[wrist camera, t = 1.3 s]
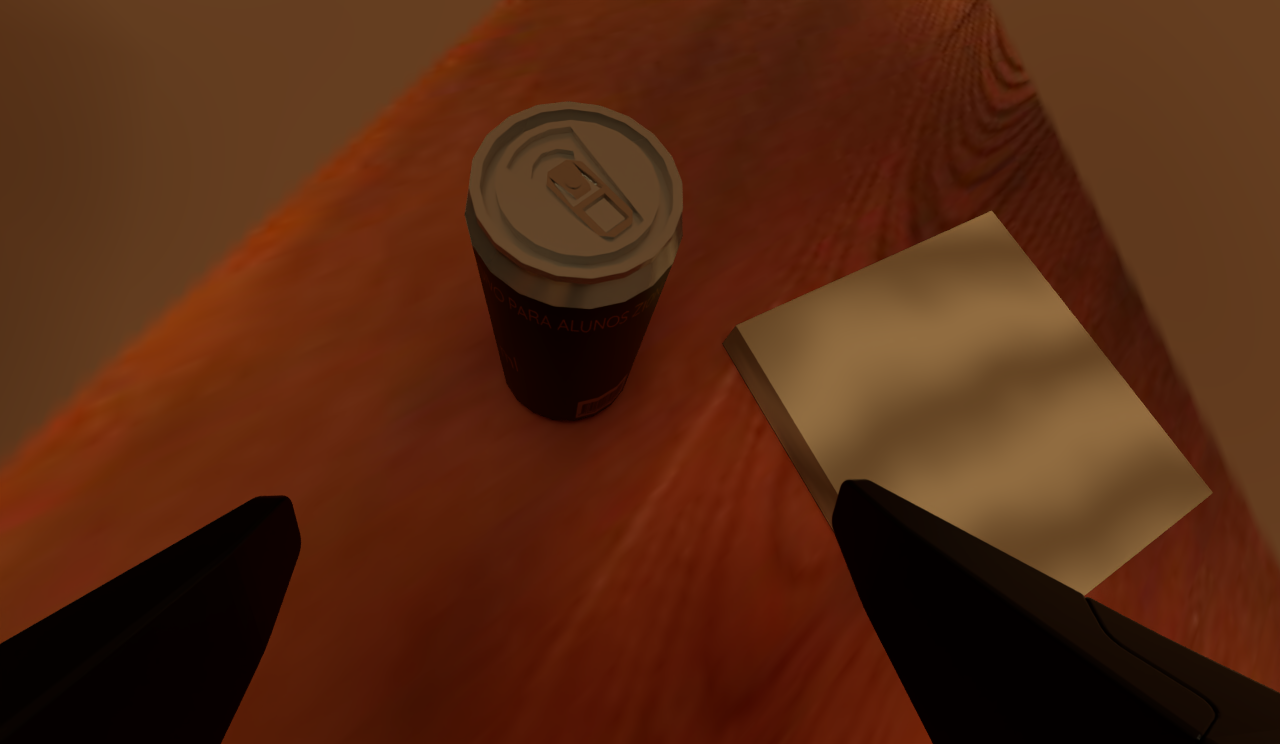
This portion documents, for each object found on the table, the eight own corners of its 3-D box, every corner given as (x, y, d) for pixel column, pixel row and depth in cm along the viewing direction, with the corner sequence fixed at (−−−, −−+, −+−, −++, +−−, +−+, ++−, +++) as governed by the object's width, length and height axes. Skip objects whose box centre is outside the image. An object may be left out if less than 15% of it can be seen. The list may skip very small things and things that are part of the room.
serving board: (1165, 498, 26) (1212, 492, 24) (923, 684, 21) (959, 695, 19) (964, 233, 30) (991, 210, 28) (722, 343, 25) (735, 325, 23)
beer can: (652, 370, 24) (738, 201, 13) (561, 451, 22) (570, 335, 11) (571, 288, 25) (586, 61, 14) (477, 360, 23) (406, 165, 12)
